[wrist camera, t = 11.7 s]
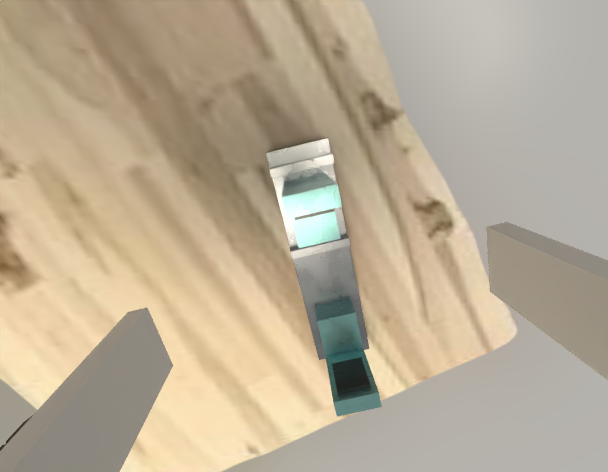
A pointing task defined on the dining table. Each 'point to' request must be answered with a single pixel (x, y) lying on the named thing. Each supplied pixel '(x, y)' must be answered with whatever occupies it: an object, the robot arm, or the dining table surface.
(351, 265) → the rail
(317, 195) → the teal block
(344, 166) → the dining table surface
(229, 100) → the dining table surface
